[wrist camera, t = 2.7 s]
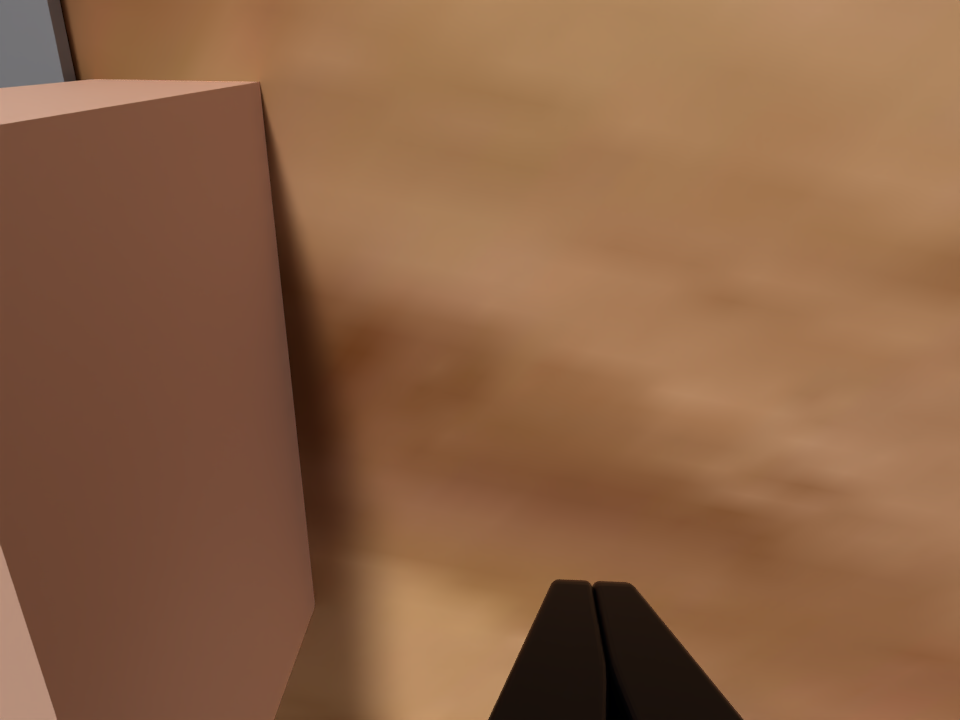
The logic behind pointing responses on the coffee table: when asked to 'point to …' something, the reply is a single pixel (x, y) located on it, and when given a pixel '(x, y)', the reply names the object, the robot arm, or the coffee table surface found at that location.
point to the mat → (33, 44)
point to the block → (144, 408)
